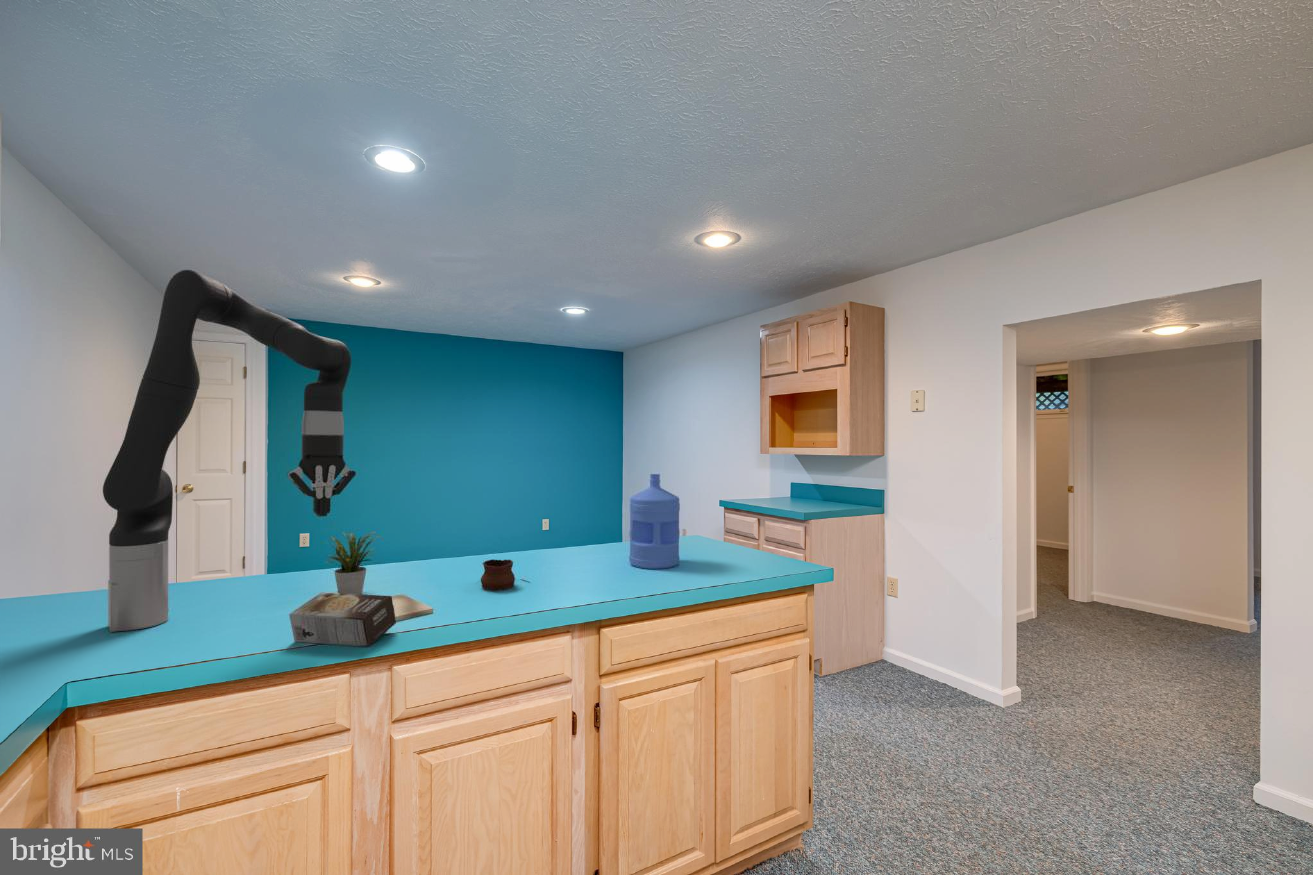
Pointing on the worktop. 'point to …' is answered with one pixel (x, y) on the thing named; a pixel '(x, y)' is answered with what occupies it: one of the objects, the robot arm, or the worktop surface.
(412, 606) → the cutting board
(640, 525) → the water jug
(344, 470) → the robot arm
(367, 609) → the coffee box
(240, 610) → the worktop surface
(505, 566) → the ceramic pot
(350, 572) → the house plant
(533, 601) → the worktop surface
